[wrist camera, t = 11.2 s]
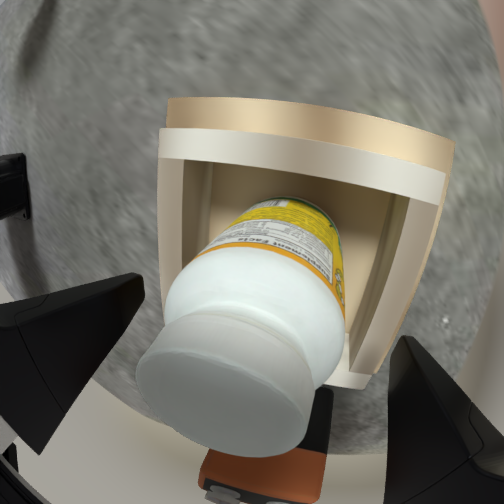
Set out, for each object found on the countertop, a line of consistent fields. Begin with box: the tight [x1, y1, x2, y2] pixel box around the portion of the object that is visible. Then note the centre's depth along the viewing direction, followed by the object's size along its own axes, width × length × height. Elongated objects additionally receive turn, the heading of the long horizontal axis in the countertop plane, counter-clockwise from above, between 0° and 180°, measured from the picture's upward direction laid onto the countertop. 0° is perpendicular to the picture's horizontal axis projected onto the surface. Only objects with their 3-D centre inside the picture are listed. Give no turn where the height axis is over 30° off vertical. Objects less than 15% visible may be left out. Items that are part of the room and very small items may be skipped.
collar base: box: [157, 97, 455, 390], centre depth 13 cm, size 14×14×4 cm
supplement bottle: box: [136, 196, 345, 457], centre depth 9 cm, size 5×5×10 cm
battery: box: [198, 387, 334, 504], centre depth 15 cm, size 4×7×10 cm, turn 79°
